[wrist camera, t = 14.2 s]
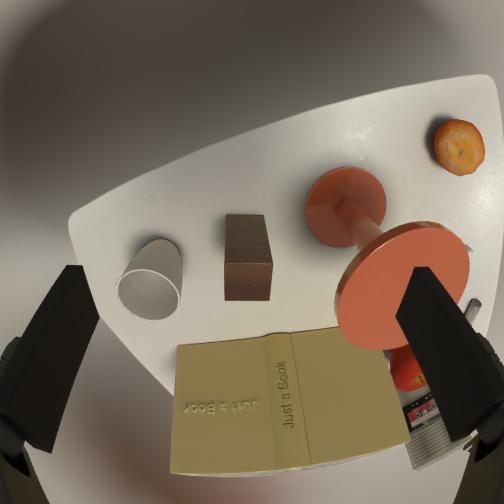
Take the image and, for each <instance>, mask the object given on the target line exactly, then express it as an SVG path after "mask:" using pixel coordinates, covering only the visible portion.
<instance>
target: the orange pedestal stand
mask: <svg viewBox="0 0 504 504" xmlns="http://www.w3.org/2000/svg"><path fill="white" fill-rule="evenodd" d="M385 211H386V196H385V192H384V190H383V187H382V186H381V184H380V183H379V181H378V180H377V179H376V178H375V177H374V176H373V175H371V174H370V173H369V172H367V171H365V170H363V169H360V168H357V167H341V168H337V169H334V170H331V171H329V172H327V173H326V174H324V175H323V176H322V177H320V178H319V179H318V180H317V181H316V182H315V184H314V185H313V186H312V188H311V189H310V191H309V193H308V195H307V198H306V202H305V218H306V222H307V224H308V227H309V229H310V231H311V232H312V234H313V235H314V236H315V237H316V238H317V239H318V240H319V241H321V242H322V243H324V244H326V245H329V246H332V247H340V248H342V247H351V246H354V245H356V247H357V248H358V250H359V251H360V252H359V253H358V254H357V255H356V257H355V258H354V259H353V260H352V262H351V263H350V264H349V265H348V267H347V269H346V270H345V272H344V274H343V275H342V277H341V280H340V282H339V284H338V287H337V290H336V295H335V300H334V310H335V316H336V319H337V322H338V324H339V327H340V330H341V332H342V333H343V335H344V336H345V337H346V338H347V339H348V340H349V341H350V342H351V343H353V344H354V345H356V346H358V347H361V348H364V349H369V350H389V349H394V348H398V347H402V346H404V345H407V344H409V343H408V341H407V339H406V337H405V335H404V333H403V331H402V329H401V327H400V325H399V323H398V321H397V319H396V317H395V316H396V313H397V311H398V308H399V306H400V303H401V301H402V298H403V296H404V293H405V291H406V288H407V286H408V283H409V280H410V277H411V275H412V272H413V269H414V267H429V268H430V269H431V270H432V271H433V273H434V274H435V275H436V277H437V278H438V279H439V281H440V282H441V283H442V285H443V286H444V287H445V289H446V290H447V292H448V293H449V294H450V296H451V297H452V298H453V300H454V301H455V303H456V304H457V303H458V302H459V300H460V298H461V296H462V294H463V292H464V290H465V287H466V284H467V281H468V276H469V267H470V263H469V256H468V252H467V249H466V247H465V245H464V243H463V242H462V241H461V239H460V238H459V237H458V236H457V235H455V234H454V233H453V232H452V231H451V230H450V229H449V228H447V227H445V226H443V225H441V224H438V223H435V222H429V221H418V222H411V223H407V224H403V225H400V226H398V227H395V228H393V229H390V230H389V231H387V232H385V233H384V232H383V231H382V230H381V228H380V227H379V226H380V224H381V222H382V220H383V218H384V215H385Z"/></svg>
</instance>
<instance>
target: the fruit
mask: <svg viewBox="0 0 504 504" xmlns="http://www.w3.org/2000/svg"><path fill="white" fill-rule="evenodd" d="M434 150H435V154H436V159H437V162H438V163H439V165H440V166H441V167H443V168H444V169H446V170H447V171H448V172H451V173H453V174H455V175H457V176H463V175H466V174H472V173H473V172H475V171H476V169H477V168H478V166H479V165H480V164H481V163H482V162H483V160H484V155H485V149H484V143H483V139H482V136H481V134H480V132H479V131H478V129H477V128H476V127H475V126H474V125H473V124H472V123H470V122H467V121H464V120H458V119H454V120H450V121H448V122H446V123H445V124H443V125H442V126H441V127H440V128H438V129H437V131H436V132H435V135H434Z"/></svg>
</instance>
